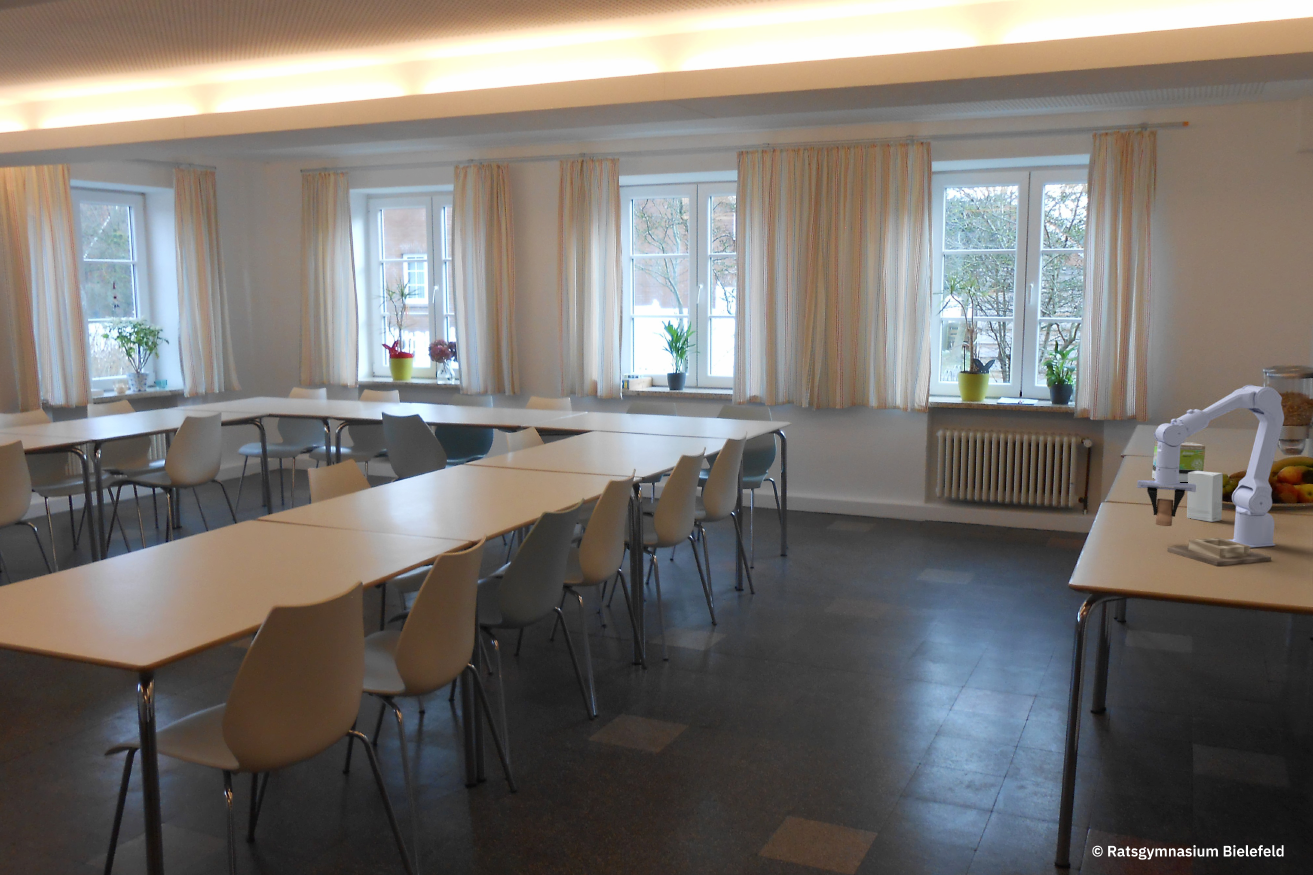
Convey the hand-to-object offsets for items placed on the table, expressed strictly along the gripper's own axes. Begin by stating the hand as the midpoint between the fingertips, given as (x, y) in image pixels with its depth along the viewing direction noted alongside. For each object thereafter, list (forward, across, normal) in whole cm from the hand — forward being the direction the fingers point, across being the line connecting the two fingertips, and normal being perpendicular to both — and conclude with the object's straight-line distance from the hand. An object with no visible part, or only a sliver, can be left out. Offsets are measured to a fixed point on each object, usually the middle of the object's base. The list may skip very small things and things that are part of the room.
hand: (1164, 515), depth 278 cm
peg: (+3, 0, 0) cm, 3 cm away
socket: (+8, -13, +9) cm, 18 cm away
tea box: (+8, -3, -116) cm, 116 cm away
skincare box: (+8, -10, -42) cm, 44 cm away
